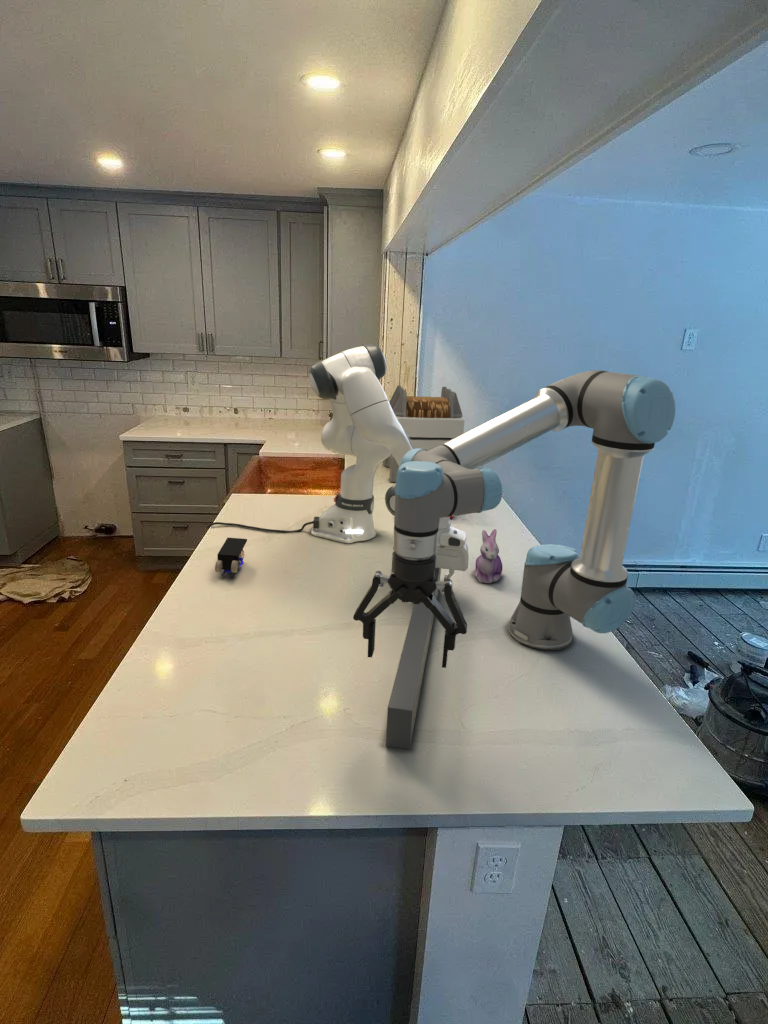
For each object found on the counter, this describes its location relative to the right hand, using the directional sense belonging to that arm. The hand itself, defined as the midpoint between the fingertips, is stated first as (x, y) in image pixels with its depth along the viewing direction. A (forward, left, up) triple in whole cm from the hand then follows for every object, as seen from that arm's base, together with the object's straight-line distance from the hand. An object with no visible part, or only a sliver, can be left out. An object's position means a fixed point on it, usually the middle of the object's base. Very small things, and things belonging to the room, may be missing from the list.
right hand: (407, 658), depth 104 cm
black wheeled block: (-9, -79, -14) cm, 81 cm away
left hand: (-42, -31, -10) cm, 54 cm away
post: (-21, -16, -14) cm, 30 cm away
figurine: (-65, -27, -14) cm, 72 cm away
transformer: (-132, -117, -14) cm, 178 cm away
